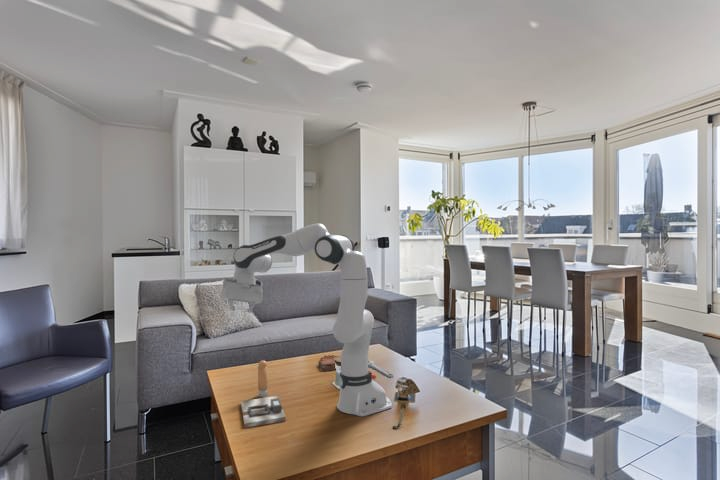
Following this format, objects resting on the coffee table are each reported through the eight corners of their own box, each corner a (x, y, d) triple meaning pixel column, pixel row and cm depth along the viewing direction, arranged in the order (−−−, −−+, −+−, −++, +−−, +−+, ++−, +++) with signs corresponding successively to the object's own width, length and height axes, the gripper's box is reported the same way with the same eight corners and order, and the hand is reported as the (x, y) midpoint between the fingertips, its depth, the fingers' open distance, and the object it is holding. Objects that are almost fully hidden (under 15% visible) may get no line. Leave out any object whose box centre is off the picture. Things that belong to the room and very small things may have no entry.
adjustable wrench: (394, 378, 190) (394, 374, 190) (383, 380, 188) (383, 376, 187) (370, 362, 213) (370, 359, 213) (360, 364, 210) (360, 360, 210)
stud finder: (278, 404, 156) (278, 398, 156) (281, 411, 150) (281, 405, 150) (270, 405, 155) (270, 399, 155) (273, 413, 149) (273, 406, 149)
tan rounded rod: (266, 393, 171) (266, 358, 171) (268, 396, 167) (267, 361, 167) (257, 394, 170) (257, 359, 169) (258, 398, 166) (258, 362, 166)
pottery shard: (316, 362, 213) (316, 355, 213) (344, 360, 217) (344, 353, 217) (320, 372, 197) (320, 365, 197) (350, 370, 201) (350, 362, 201)
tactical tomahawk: (410, 434, 138) (410, 431, 138) (392, 430, 140) (392, 427, 140) (416, 407, 159) (416, 404, 159) (400, 404, 160) (400, 401, 160)
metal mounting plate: (277, 399, 165) (277, 393, 165) (285, 420, 146) (285, 414, 146) (241, 404, 159) (241, 399, 159) (244, 427, 141) (244, 421, 141)
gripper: (227, 276, 167) (224, 308, 163) (265, 283, 182) (263, 312, 178) (219, 278, 171) (216, 309, 166) (257, 285, 186) (255, 314, 182)
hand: (241, 311), depth 172 cm, fingers open, 8 cm apart
